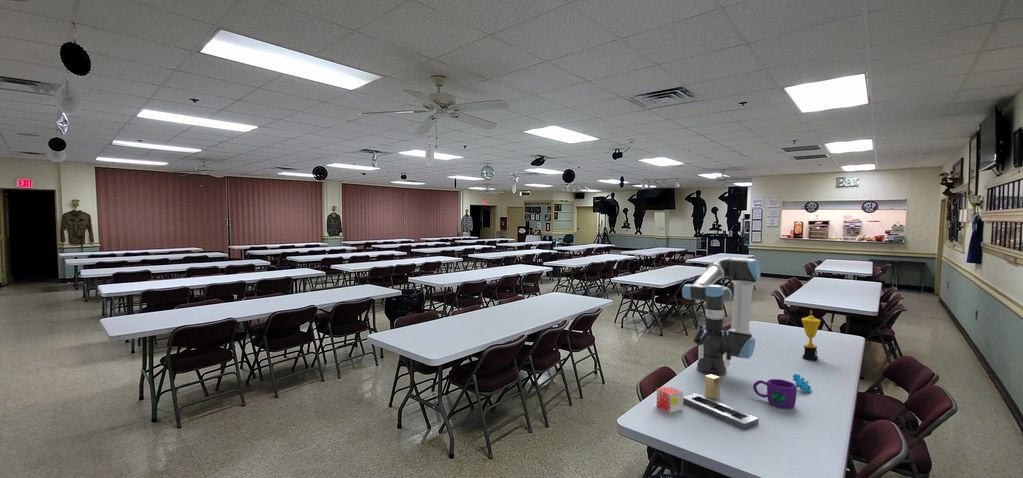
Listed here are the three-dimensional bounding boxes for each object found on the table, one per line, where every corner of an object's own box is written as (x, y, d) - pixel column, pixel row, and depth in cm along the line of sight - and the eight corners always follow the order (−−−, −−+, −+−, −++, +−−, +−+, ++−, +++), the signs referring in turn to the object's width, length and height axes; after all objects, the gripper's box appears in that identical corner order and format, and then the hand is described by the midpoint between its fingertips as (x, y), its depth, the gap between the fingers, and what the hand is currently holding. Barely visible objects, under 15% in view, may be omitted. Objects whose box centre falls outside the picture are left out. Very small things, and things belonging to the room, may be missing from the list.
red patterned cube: (670, 412, 184) (670, 395, 184) (656, 406, 191) (656, 388, 191) (683, 409, 188) (683, 391, 188) (669, 402, 195) (669, 385, 195)
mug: (798, 404, 192) (799, 383, 192) (793, 412, 184) (793, 390, 184) (756, 394, 204) (756, 373, 204) (749, 400, 196) (749, 379, 196)
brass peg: (704, 396, 202) (705, 375, 201) (711, 394, 204) (711, 374, 204) (713, 399, 198) (713, 378, 197) (719, 397, 200) (719, 377, 200)
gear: (805, 392, 202) (791, 373, 208) (795, 398, 205) (781, 379, 212) (817, 391, 207) (803, 372, 214) (807, 396, 211) (793, 378, 217)
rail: (681, 402, 195) (681, 397, 195) (695, 398, 199) (695, 393, 199) (744, 429, 169) (744, 423, 168) (758, 424, 173) (758, 418, 173)
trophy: (818, 364, 248) (819, 313, 247) (798, 360, 255) (799, 311, 254) (821, 356, 263) (822, 308, 262) (802, 353, 269) (803, 306, 268)
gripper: (686, 313, 209) (685, 356, 209) (734, 324, 187) (733, 371, 187) (696, 312, 212) (695, 354, 213) (744, 322, 191) (743, 368, 191)
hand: (713, 362), depth 200 cm, fingers open, 13 cm apart
